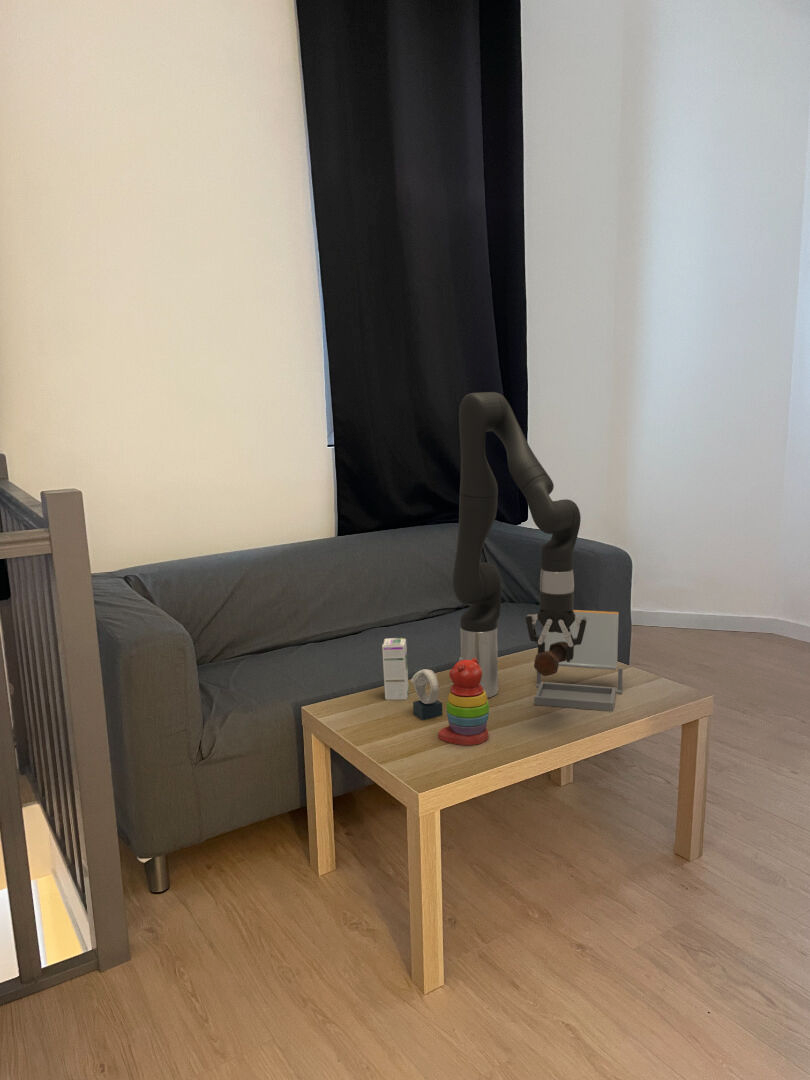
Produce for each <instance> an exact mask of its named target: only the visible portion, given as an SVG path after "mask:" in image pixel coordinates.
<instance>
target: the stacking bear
mask: <svg viewBox="0 0 810 1080" xmlns="http://www.w3.org/2000/svg"><path fill="white" fill-rule="evenodd" d="M448 675H449V678H450V681H451V682H452V683H453V685H452V686H451V687H450V689H449V690H450V691H449V692H448V699H447V702H446V715H447V720H448V726H445V727H443V728H441V729H440V730H439V731H438V734H437V737H438V739H439V740H440V741H443V742H447V743H450V744H455V745H461V746H474V745H479V744H482V743H484V742H486V741H487V740H489V736H490V734H489V731H488V729H487V726H488V725H487V724H488V720H489V715H490V706H489V705H490V704H489V700H488V698H487V695H486V692H485V690H484V689H483V687H482V686H481V685H480V684H479V683H480V681H481V678H482V670H481V668H480V666H479V665H478V660H477V659H476V658H473V659H472V660H461V661H459V660H458V661H457V662H456V663H455V664H454V666H453V667H452V668H451V669H450V670H449V673H448Z"/></svg>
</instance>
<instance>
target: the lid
mask: <svg viewBox="0 0 810 1080" xmlns="http://www.w3.org/2000/svg"><path fill="white" fill-rule="evenodd" d="M573 611H574V614H575V616H576V617H580V618H583V617H586V618H587V623H586V627H585V631H584V635H583V639H582V643H581V644H580V645H575V646H574V657H573V659H572V660H570V662H567V660H566V661H563V662H559V665H558V667H569V668H572V667H573V668H581V669H582V668H584V669H598V670H613V671H614V670H617V669H618V648H619V643H618V642H619V619H620V618H619V617H620V616H619V615H620V614H619V611H604V610H602V611H600V610H580V609H573ZM570 630H571V633H572V636H573V638H577V636H578V632H579V627H577V623H576V622H575V621H574V622H573V623H572V625H571V626H570ZM544 642H545V652H546V651H549V648H550V645H551V644H553V643H557V642H566V643H567V641H566V639H565V637H564V635H563V633H558V632H549V631H548V633H547V635H546V637H545V639H544Z"/></svg>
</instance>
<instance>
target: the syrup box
mask: <svg viewBox="0 0 810 1080" xmlns="http://www.w3.org/2000/svg"><path fill="white" fill-rule="evenodd" d="M381 647H382V668H383V685H384V686H383V689H384V698H385V699H384V700H386V701H388V700H390V701H399V700H401V701H404V700H408V696H409V692H410V689H409V687H410V686H409V670H408V651H407V648H408V647H407V638H404V637H392V638H391V637H390V638H384V640H383V641H382V645H381Z"/></svg>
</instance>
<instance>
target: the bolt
mask: <svg viewBox="0 0 810 1080" xmlns="http://www.w3.org/2000/svg"><path fill="white" fill-rule="evenodd" d="M567 645H568V644H567V643H566V642H557V643H553V644H551V645H550V648H549V651H546V652H542V653H538V652H537V654H536V655H535V657H534V665H533V668H534V669H535V671H536V672H537V671H538V672H539V673H540V674H541V676H543V677H547V676H548V677H549V676H552V675H555V674H557V673H558V669H559V666H558V665H559V662H563V661H566V660H567Z"/></svg>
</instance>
